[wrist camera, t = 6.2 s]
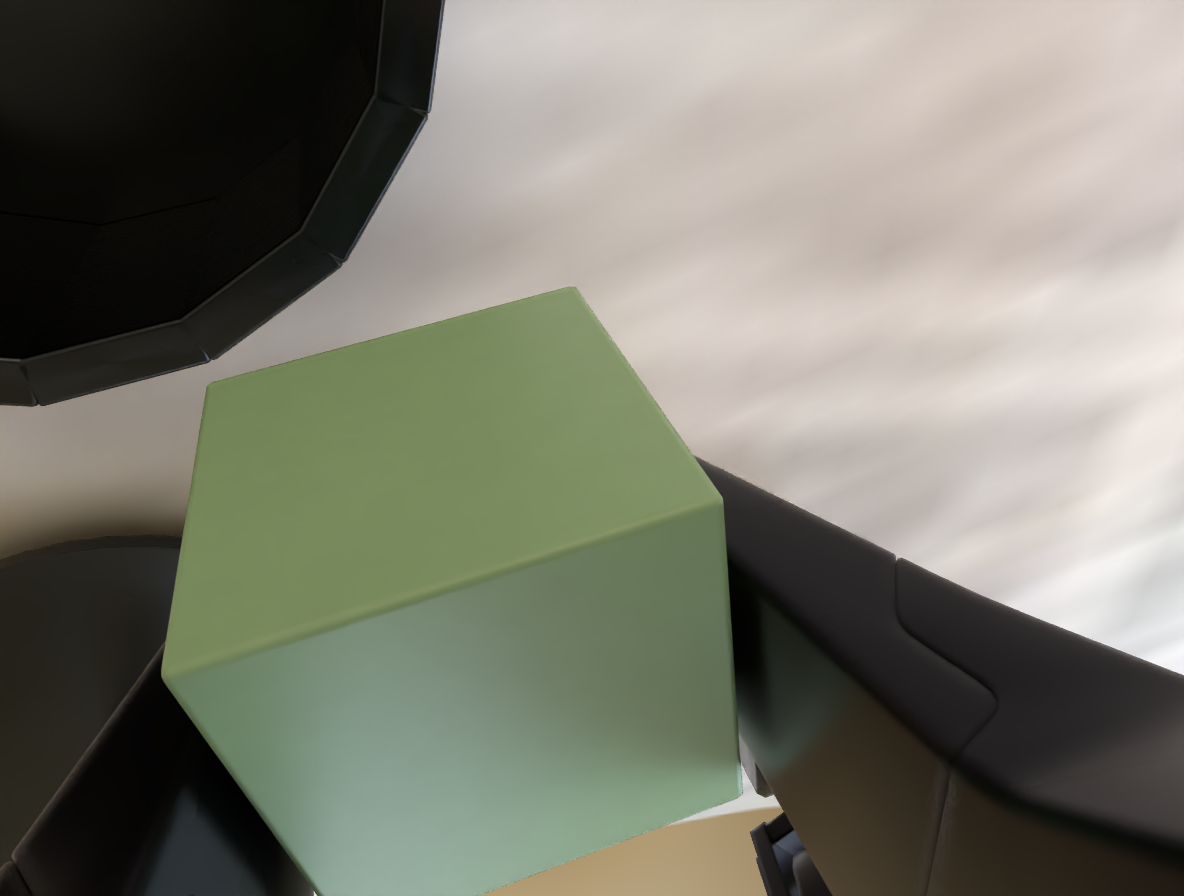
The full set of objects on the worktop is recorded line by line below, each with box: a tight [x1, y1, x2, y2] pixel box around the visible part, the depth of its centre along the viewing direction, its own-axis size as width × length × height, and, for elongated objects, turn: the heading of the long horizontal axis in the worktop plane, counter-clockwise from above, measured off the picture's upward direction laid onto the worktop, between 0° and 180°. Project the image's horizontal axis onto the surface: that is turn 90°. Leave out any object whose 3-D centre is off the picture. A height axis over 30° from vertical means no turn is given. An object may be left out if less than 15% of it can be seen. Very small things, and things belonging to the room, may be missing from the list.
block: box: [161, 287, 743, 896], centre depth 8 cm, size 4×4×4 cm
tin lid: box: [0, 535, 182, 869], centre depth 22 cm, size 14×14×6 cm
